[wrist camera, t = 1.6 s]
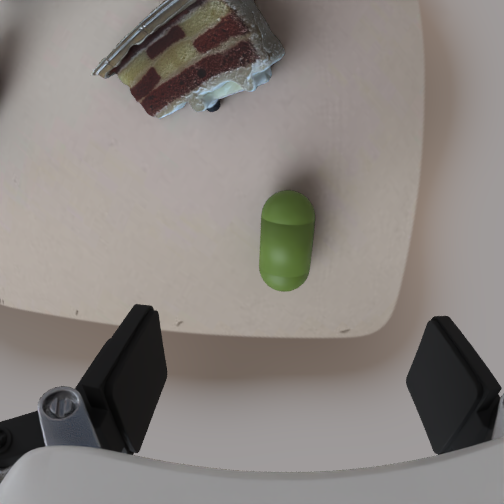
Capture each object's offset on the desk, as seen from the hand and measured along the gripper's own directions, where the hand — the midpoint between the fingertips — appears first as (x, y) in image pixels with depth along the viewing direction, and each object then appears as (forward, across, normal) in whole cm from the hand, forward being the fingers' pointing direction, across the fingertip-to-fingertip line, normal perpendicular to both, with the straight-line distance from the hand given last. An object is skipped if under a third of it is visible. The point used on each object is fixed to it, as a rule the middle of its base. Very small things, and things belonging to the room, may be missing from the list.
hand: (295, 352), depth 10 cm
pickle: (+12, -1, 0) cm, 12 cm away
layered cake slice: (+12, +6, -11) cm, 17 cm away
